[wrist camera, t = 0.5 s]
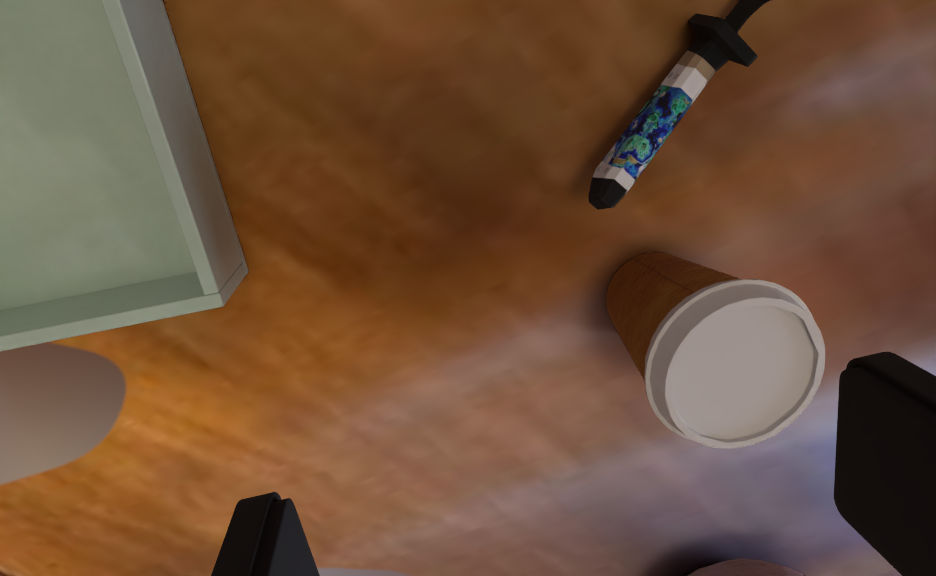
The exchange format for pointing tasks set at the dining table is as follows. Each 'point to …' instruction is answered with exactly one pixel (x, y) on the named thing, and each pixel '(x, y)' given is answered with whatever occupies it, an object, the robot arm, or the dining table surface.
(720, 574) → the ceramic pitcher
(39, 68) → the pale green open box
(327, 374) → the dining table surface
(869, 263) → the dining table surface
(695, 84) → the knife
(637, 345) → the disposable coffee cup
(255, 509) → the robot arm
